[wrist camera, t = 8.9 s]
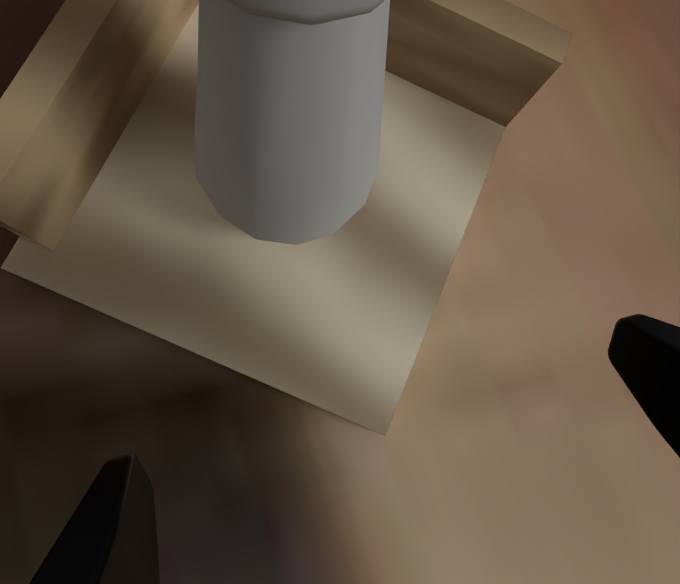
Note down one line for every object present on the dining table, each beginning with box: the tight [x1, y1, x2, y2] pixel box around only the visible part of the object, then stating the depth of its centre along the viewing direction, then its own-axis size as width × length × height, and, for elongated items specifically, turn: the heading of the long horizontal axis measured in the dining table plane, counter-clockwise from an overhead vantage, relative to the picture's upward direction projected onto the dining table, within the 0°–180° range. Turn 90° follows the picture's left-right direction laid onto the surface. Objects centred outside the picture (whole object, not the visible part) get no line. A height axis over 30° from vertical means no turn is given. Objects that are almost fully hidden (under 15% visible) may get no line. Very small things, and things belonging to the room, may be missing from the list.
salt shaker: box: [194, 0, 390, 245], centre depth 12 cm, size 6×6×13 cm
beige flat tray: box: [0, 0, 573, 436], centre depth 17 cm, size 14×14×5 cm
